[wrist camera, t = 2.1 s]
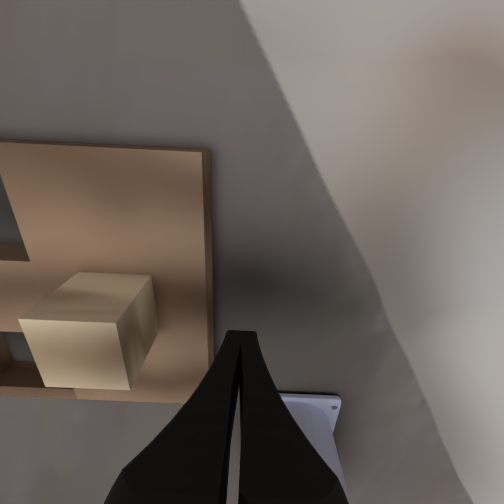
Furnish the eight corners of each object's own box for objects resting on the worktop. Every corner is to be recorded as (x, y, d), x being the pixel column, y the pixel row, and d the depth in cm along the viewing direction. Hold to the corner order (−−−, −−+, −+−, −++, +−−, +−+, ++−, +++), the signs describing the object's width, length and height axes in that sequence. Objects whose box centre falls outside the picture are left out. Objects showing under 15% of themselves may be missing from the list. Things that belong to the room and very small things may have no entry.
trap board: (214, 375, 21) (209, 404, 19) (-73, 362, 21) (-113, 391, 18) (210, 149, 14) (201, 152, 12) (-223, 128, 14) (-318, 126, 11)
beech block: (158, 331, 16) (130, 390, 12) (93, 329, 16) (45, 386, 12) (151, 275, 14) (115, 323, 11) (78, 271, 14) (18, 318, 11)
